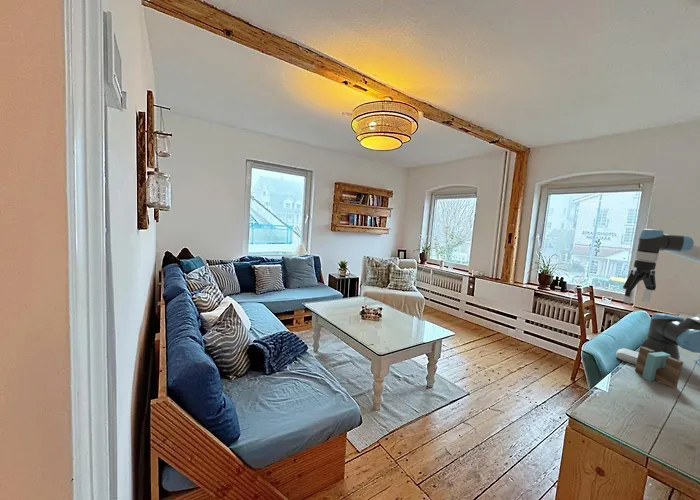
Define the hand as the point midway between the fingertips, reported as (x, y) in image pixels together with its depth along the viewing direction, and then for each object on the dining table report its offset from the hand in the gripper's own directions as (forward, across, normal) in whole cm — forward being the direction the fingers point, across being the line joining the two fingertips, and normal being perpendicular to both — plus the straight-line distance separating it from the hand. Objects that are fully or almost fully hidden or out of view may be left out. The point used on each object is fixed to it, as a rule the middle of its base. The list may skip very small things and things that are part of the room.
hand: (636, 302), depth 149 cm
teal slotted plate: (+31, +7, +16) cm, 35 cm away
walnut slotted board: (+31, +6, +16) cm, 35 cm away
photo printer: (+28, -6, +8) cm, 30 cm away
